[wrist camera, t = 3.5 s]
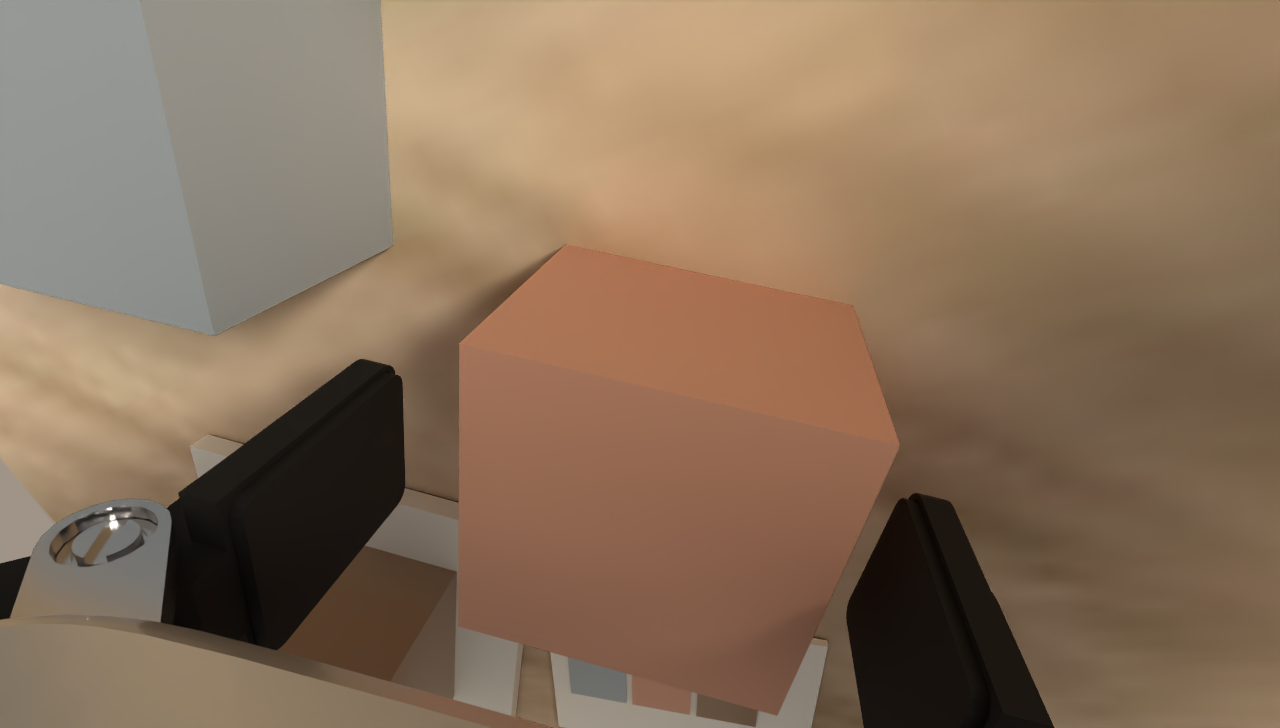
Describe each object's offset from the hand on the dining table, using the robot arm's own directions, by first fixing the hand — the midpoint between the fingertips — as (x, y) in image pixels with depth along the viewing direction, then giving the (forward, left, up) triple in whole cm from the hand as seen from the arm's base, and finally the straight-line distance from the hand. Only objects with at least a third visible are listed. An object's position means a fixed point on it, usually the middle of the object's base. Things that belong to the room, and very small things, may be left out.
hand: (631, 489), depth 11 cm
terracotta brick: (0, 0, -3) cm, 3 cm away
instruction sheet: (-2, +10, -3) cm, 11 cm away
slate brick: (+10, -5, -3) cm, 11 cm away
